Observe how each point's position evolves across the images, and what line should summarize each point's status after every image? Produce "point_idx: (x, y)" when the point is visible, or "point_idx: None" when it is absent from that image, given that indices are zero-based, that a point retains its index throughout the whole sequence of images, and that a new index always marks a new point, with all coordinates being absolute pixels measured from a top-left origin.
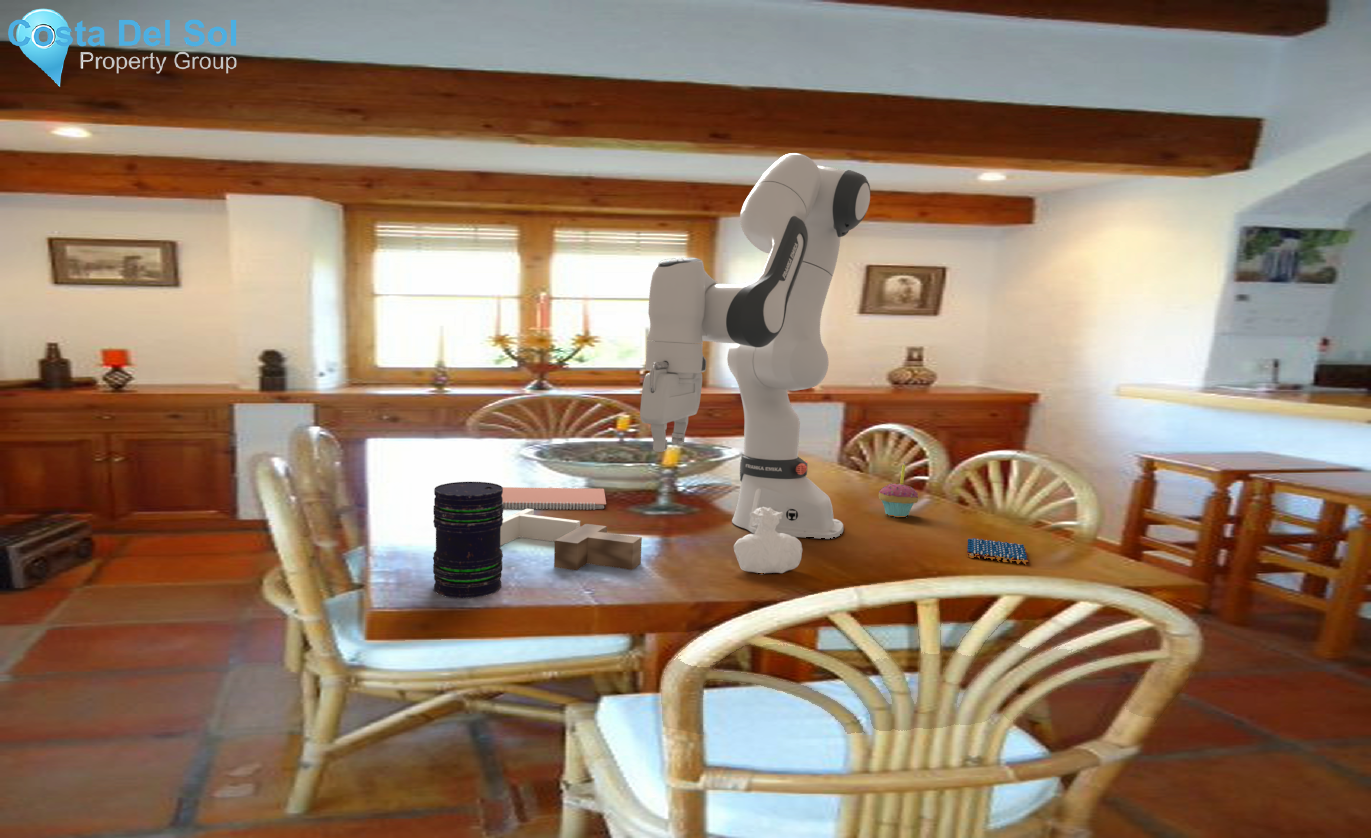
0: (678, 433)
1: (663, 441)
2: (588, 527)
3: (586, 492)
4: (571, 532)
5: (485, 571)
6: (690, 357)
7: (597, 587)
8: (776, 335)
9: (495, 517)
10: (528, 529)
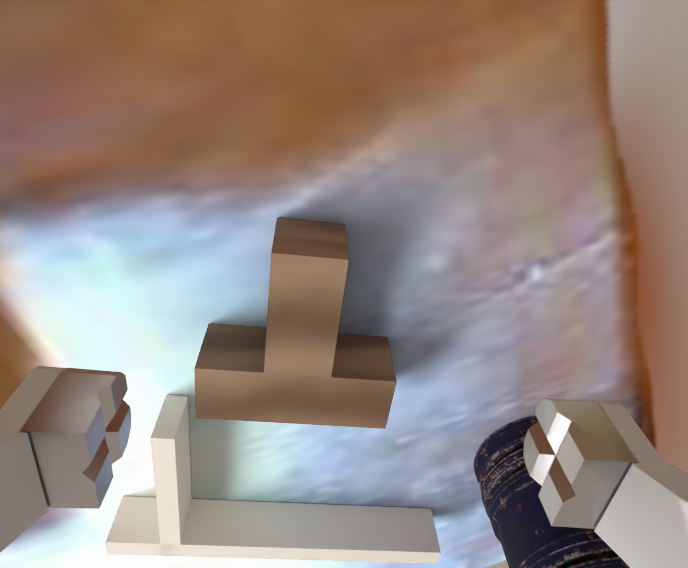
0: (60, 468)
1: (656, 463)
2: (231, 402)
3: None
4: (299, 420)
5: None
6: None
7: (500, 263)
8: None
9: (613, 557)
10: (186, 501)
